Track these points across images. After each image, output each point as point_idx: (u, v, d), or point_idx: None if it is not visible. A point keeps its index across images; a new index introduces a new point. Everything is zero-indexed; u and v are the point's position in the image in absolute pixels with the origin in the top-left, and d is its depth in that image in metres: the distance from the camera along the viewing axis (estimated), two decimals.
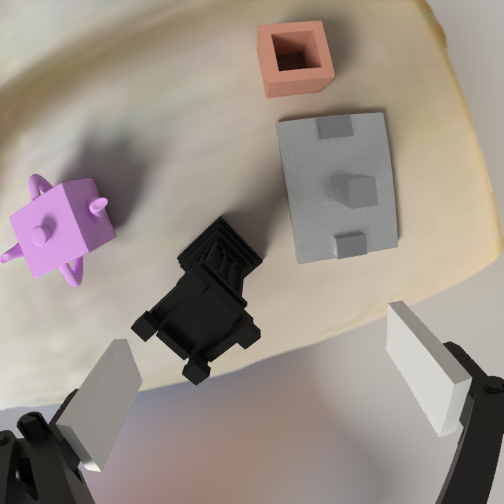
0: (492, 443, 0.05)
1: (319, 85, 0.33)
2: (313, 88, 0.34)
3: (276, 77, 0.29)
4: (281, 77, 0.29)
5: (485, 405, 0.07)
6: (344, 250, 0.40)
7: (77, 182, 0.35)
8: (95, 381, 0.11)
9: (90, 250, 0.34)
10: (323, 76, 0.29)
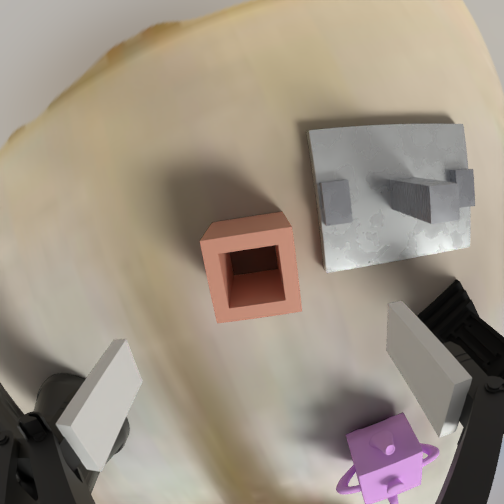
0: (492, 443, 0.05)
1: None
2: None
3: (294, 303, 0.26)
4: (294, 297, 0.26)
5: (485, 405, 0.07)
6: (468, 197, 0.29)
7: (355, 456, 0.34)
8: (95, 381, 0.11)
9: (421, 449, 0.30)
10: (292, 243, 0.24)
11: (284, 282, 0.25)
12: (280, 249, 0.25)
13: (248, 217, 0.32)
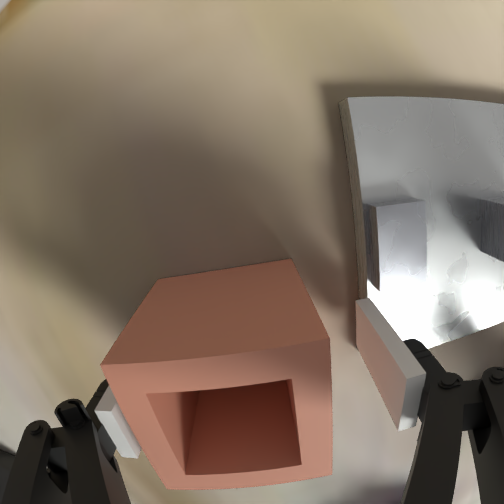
0: (451, 438, 0.06)
1: None
2: None
3: (318, 466, 0.10)
4: (319, 459, 0.10)
5: (440, 401, 0.08)
6: None
7: None
8: None
9: None
10: (326, 373, 0.09)
11: (301, 441, 0.10)
12: (296, 387, 0.09)
13: (225, 272, 0.16)
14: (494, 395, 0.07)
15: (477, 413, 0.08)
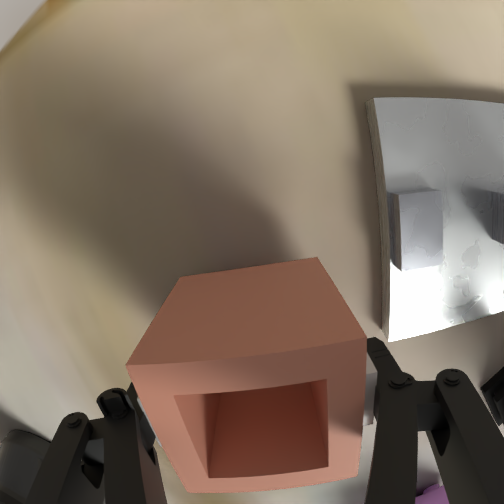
0: (407, 436, 0.07)
1: None
2: None
3: (344, 468, 0.10)
4: (347, 461, 0.10)
5: (392, 401, 0.08)
6: None
7: None
8: None
9: None
10: (361, 373, 0.09)
11: (330, 442, 0.10)
12: (331, 387, 0.09)
13: (250, 270, 0.16)
14: (450, 398, 0.08)
15: (434, 416, 0.08)
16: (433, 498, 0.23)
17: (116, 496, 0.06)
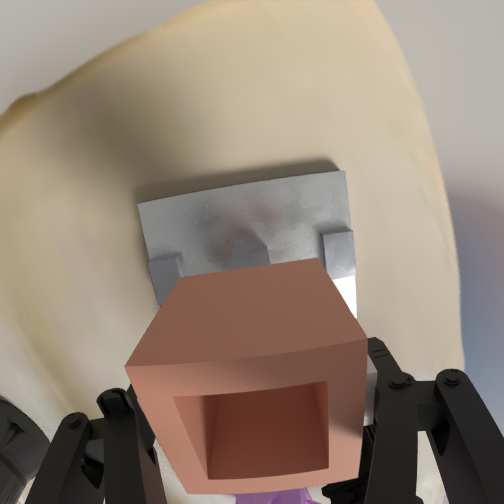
0: (407, 436, 0.07)
1: None
2: None
3: (345, 470, 0.10)
4: (347, 463, 0.10)
5: (392, 401, 0.08)
6: (344, 267, 0.27)
7: None
8: None
9: None
10: (362, 375, 0.09)
11: (331, 444, 0.09)
12: (331, 389, 0.09)
13: (250, 270, 0.16)
14: (450, 397, 0.08)
15: (434, 416, 0.08)
16: None
17: (116, 496, 0.06)
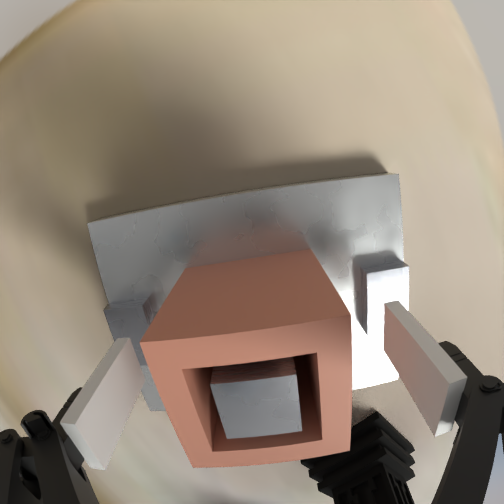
0: (488, 442, 0.06)
1: None
2: None
3: (337, 442, 0.11)
4: (339, 434, 0.11)
5: (480, 404, 0.07)
6: None
7: None
8: (99, 379, 0.12)
9: None
10: (348, 348, 0.10)
11: (323, 415, 0.11)
12: (321, 360, 0.10)
13: (249, 261, 0.17)
14: None
15: None
16: None
17: None
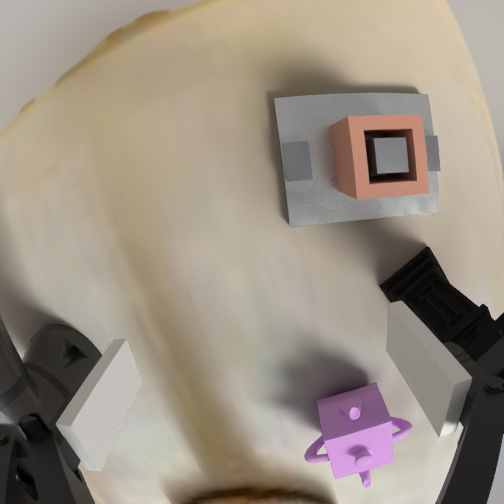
0: (492, 443, 0.05)
1: None
2: None
3: (423, 184, 0.25)
4: (424, 178, 0.25)
5: (485, 405, 0.07)
6: (432, 162, 0.31)
7: (323, 421, 0.37)
8: (95, 381, 0.11)
9: (389, 419, 0.33)
10: (422, 129, 0.24)
11: (416, 163, 0.25)
12: (413, 132, 0.24)
13: None
14: None
15: None
16: (362, 392, 0.40)
17: None
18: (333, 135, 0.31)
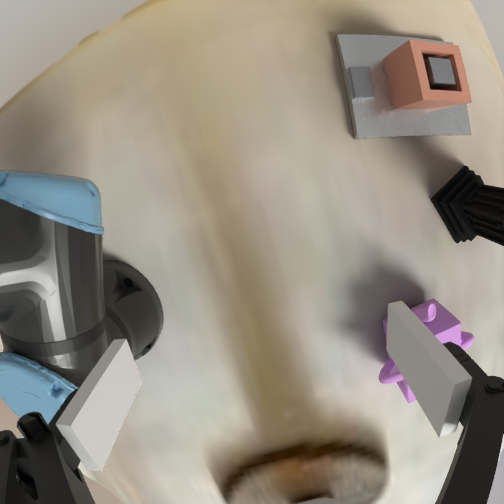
0: (492, 443, 0.05)
1: None
2: None
3: (466, 95, 0.27)
4: (466, 90, 0.26)
5: (485, 405, 0.07)
6: None
7: None
8: (95, 381, 0.11)
9: (458, 321, 0.34)
10: (460, 55, 0.25)
11: (459, 79, 0.26)
12: (454, 57, 0.25)
13: None
14: None
15: None
16: (424, 307, 0.41)
17: None
18: (388, 64, 0.32)
